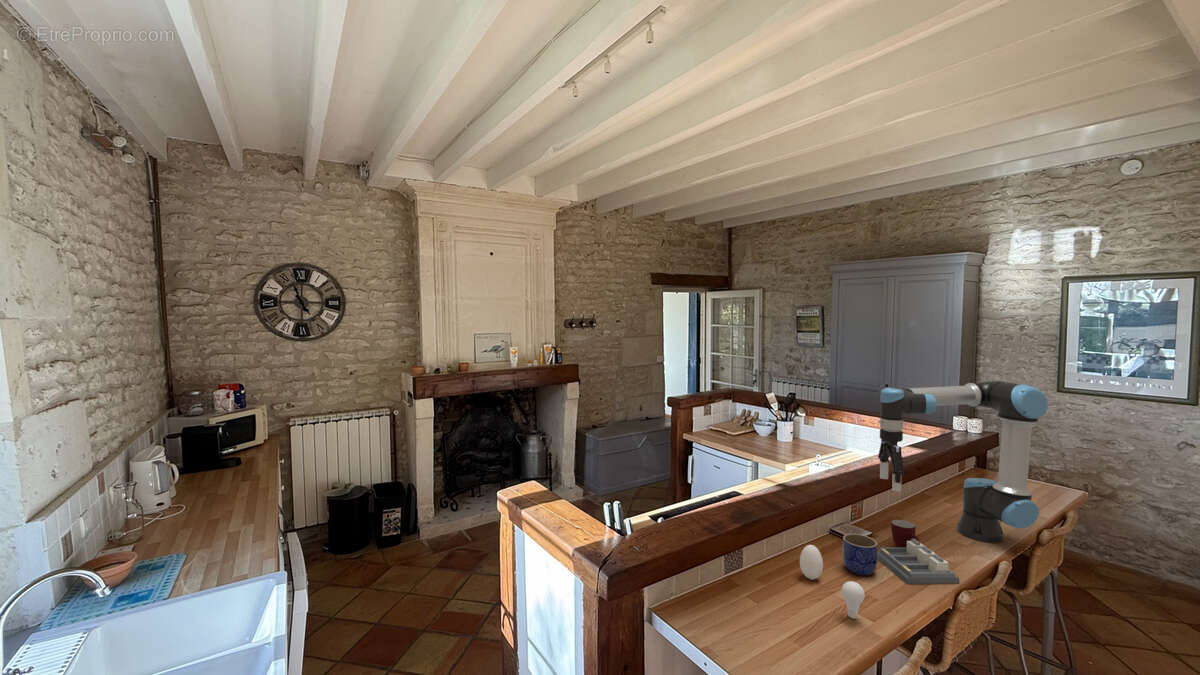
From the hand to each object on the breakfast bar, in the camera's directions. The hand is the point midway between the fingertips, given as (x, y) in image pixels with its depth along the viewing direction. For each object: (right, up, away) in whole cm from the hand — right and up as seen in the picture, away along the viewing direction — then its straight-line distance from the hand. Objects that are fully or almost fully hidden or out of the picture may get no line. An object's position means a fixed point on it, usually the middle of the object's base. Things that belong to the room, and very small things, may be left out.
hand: (890, 484), depth 186 cm
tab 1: (+6, -25, -5) cm, 26 cm away
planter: (-18, -27, -12) cm, 35 cm away
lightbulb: (-35, -29, -39) cm, 60 cm away
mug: (+8, -27, +2) cm, 28 cm away
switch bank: (+2, -27, -11) cm, 29 cm away
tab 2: (+6, -25, -11) cm, 28 cm away
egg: (-38, -28, -17) cm, 50 cm away
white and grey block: (+6, -25, -17) cm, 31 cm away
